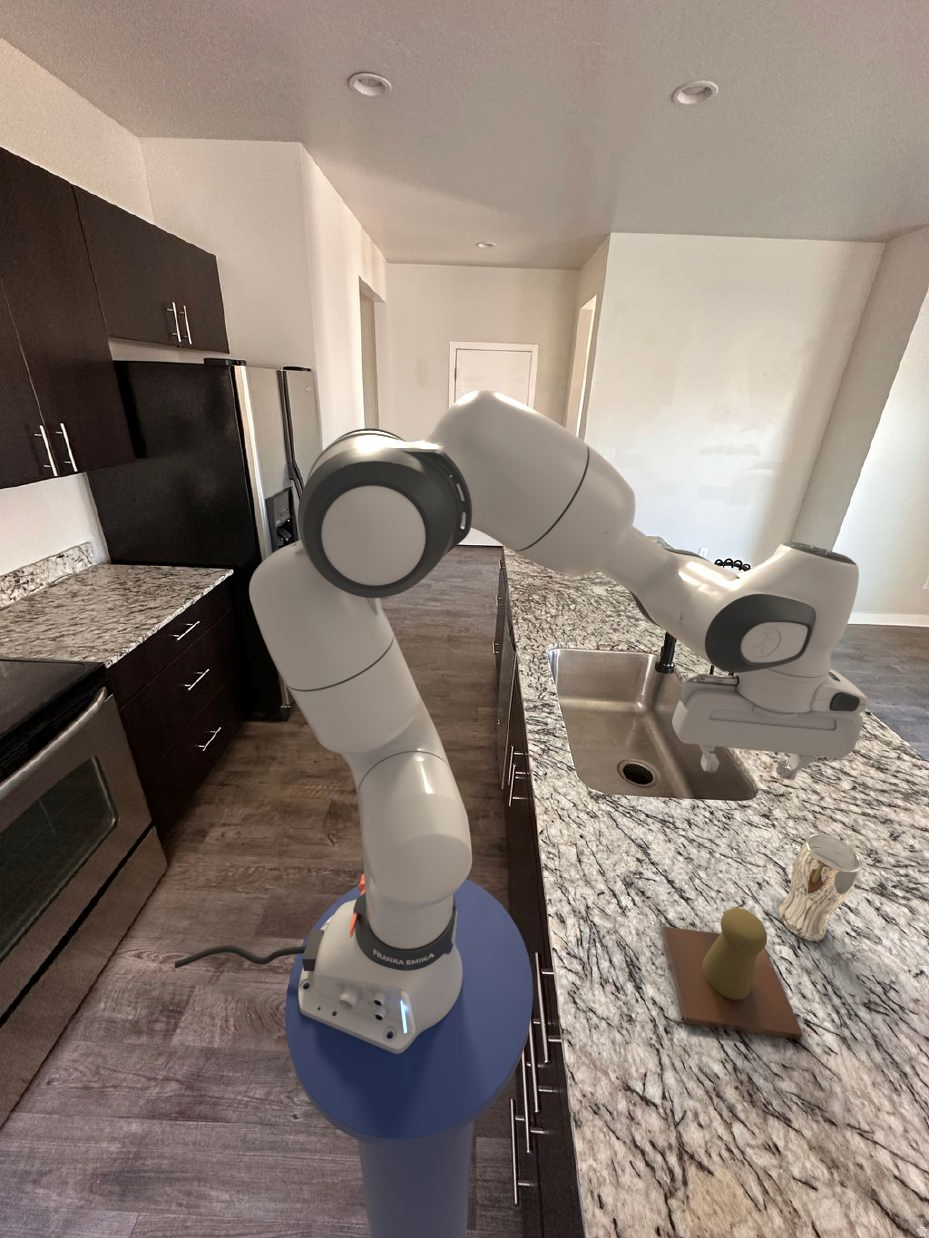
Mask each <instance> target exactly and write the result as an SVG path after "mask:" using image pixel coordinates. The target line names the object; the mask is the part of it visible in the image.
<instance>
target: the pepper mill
mask: <svg viewBox="0 0 929 1238" xmlns="http://www.w3.org/2000/svg"><path fill="white" fill-rule="evenodd" d="M720 930H721V932H720V933H719V934H720V935H719V936H718V938H717V939H716V941H715V942H714V944H713V945H712V947H711V948H710V950H709V951H708V953H707V954H706V956H705V957H704V959H703V962H702V968H703V973H704V975H705V977H706V979H707V981H708V982H709V983H710V985H711V986H712V987H713V988H714V989H715V990H716V991H718V992H719V993H720V994H722V995H724V996H725V997H727V998H731V999H735V1000H739V999H744V998H745V997H747V996H748V995H749V993H750V991H751V986H752V980H753V974H754V968H755V963H756V957H757V954H758V953H760V952H761V951H762V950H763V949H764V948H765V949H766V946H767V944H768V933H767V930H766V927H765V925H764V924H763V922H762V920H761V919H759V917H758V916H756V914H754V913H753V912H751V911H749V910H747V909H745V908H741V907H734V908H730V909H727V910H726V911H725V912H724V914H723V915H722V916H721V920H720Z"/></svg>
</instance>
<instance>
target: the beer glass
mask: <svg viewBox="0 0 929 1238" xmlns="http://www.w3.org/2000/svg"><path fill="white" fill-rule="evenodd" d="M862 865H863V863H862V860H861V858H860V855H859V854H858V853H857V852H856V851H855V850H854V848H852V846H851V845H849V844H848V843H846V842H845V841H843V840H841V839H839V838H837V837H835V836H833V835H830V834H827V833H822V832H821V833H820V832H814V833H810V834H809V835H807V836H806V838H805V840H804V842H803V844H802V846H801V847H800V849H799V850H798V853H797V855H796V857H795V860H794V862H793V866H792V870H791V877H790V885H789V891H788V894H787V896H786V897H785V899H784V900H783V901H782V902H781V904H780V905H779V907H778V917H779V919H780V921H781V922H782V923H783V925H784V926H785V927H786V928H787V929H788V930H789V931H790V932H791V933H792V934H794V935H795V936H797V937H799V938H801V939H803V940H806V941H809V942H819V941H821V940H823V938H824V937H825V935H826V931H827V924H828V921H829V919H830V917H831V916H832V915H833V914H834V913H835V912H836V910H838V909H839V908H840V907H841V906H842V904H844V902H845V901H846V900H847V898H849V896H850V894H851V893H852V891H853V889H854V887H855V884H856V882H857V879H858V877H859V873H860V870H861V868H862Z"/></svg>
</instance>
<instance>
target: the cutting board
mask: <svg viewBox="0 0 929 1238" xmlns="http://www.w3.org/2000/svg"><path fill="white" fill-rule="evenodd" d="M660 932H661V936H662V940H663V944H664V948H665V952H666V957H667V960H668V964H669V967H670V972H671V975H672V979H673V983H674V988H675V991H676V992H675V993H676V996H677V998H678V1003H679V1007H680V1011H681V1014H682V1019H683V1022H684V1024H689V1025H695V1026H702V1027H709V1028H714V1029H715V1028H716V1029H722V1030H729V1031H735V1032H736V1031H737V1032H743V1033H749V1034H756V1035H762V1036H770V1037H776V1038H783V1039H788V1040H789V1039H790V1040H796V1041H801V1039H802V1038H803V1036H804V1034H803V1032H802V1030H801V1029H802V1028H801V1027H800V1025H799V1022H798V1020H797V1018H796V1015H795V1013H794V1011H793V1009H792V1007H791V1004H790V1002H789V999H788V997H787V995H786V993H785V991H784V988H783V985H782V984H781V981H780V979H779V977H778V974H777V972H776V970H775V967H774V966H773V963H772V961H771V958H770V956H769V954H768V952H767V949H766V947H765V948H764V949H763V950H762V951H761V952H760V953H758V954H757V957H756V963H755V968H754V974H753V980H752V986H751V991H750V993H749V995H748V996H747V997H745V998H744V999H739V1000H735V999H731V998H727V997H725V996H724V995H722V994H720V993H719V992H718V991H716V990H715V989H714V988H713V987H712V986H711V985H710V983H709V982H708V981H707V979H706V977H705V975H704V973H703V968H702V962H703V959H704V957H705V956H706V954H707V953H708V951H709V950H710V948H711V947H712V945H713V944H714V942H715V941H716V939H717V938H718V936H719V935H720V933H719V932H710V931H702V930H694V929H687V928H679V927H671V926H664V925H663V926H662V927H661V931H660Z"/></svg>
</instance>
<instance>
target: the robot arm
mask: <svg viewBox="0 0 929 1238" xmlns="http://www.w3.org/2000/svg"><path fill="white" fill-rule="evenodd" d="M301 491H302V492H301V494H300V497H299V500H298V501H299V502H298V508H297V528H298V534H299V537H300V539H299V540H297V541H295V542H293V543H290V544H288V545H285V546H283V547H281V548H279V549H277V550H275V551H274V552H272V553H270V555H268V556H267V557H266V558H264V560H262V562H261V563H260V564H259V565H258V566H257V568H256V569H255V570H254V571H253V574H252V576H251V578H250V581H249V587H248V594H249V600H250V603H251V606H252V611H253V613H254V616H255V619H256V623H257V625H258V627H259V630H260V634H261V636H262V639H263V641H264V644H265V646H266V648H267V651H268V652H269V655H270V657H271V659H272V662H273V664H274V666H275V668H276V670H277V671H278V673H279V675H280V677H281V678H282V680H283V683H284V684H285V686H286V688H287V689H288V691H289V693H290V694H291V696H292V698H293V700H294V701H295V703H296V705H297V706H298V709H299V710H300V712H301V714H302V716H303V717H304V719H305V721H306V722H307V724H308V725H309V727H310V730H311V731H312V733H313V734H314V736H315V738H316V739H317V741H318V743H319V744H320V745H321V746H322V747H323V748H325V749H326V750H327V751H329V752H332V753H336V754H339V755H341V756H342V757H343V759H344V761H346V763H347V765H348V767H349V770H350V771H351V774H352V777H353V778H352V779H353V783H354V787H355V790H356V796H357V803H358V804H357V805H358V815H359V825H360V835H361V837H360V838H361V847H362V848H361V850H362V860H363V861H362V862H363V874H362V875H361V876H360V883H358V885H359V886H358V885H357V886H358V889H359V891H360V892H361V895H360V896H359V897H358V898H357V899H356V900H353V901H349V902H346V903H344V904H343V905H342V906H340V907H339V908H338V910H337V911H336V912H335V914H334V915H333V916H332V917H331V918H329V919H328V921H327V922H326V923H325V924H324V925H323V927H322V928H321V929H320V930H319V929H312V928H311V929H310V930H309V933H308V935H309V937H308V940H307V944H306V946H302V945H299V946H292V947H284V948H281V949H277V950H274V951H273V952H271V953H270V954H269V955H268V956H258V955H256V954H254V953H252V952H249V951H248V950H246V949H244V948H242V947H239V946H236V945H229V944H228V945H227V944H226V945H219V946H214V947H209V948H206V949H204V950H201V951H199V952H197V953H194V954H192V955H190V956H186V957H184V958H182V959H179V960H176V961H175V962H174V969H175V970H176V969H179V968H183V967H185V966H188V965H190V964H192V963H195V962H196V961H197V962H198V961H199V960H203V959H204V958H207V957H210V956H213V955H218V954H224V953H226V954H228V953H229V954H234V955H237V956H240V957H242V958H244V959H245V960H247V961H248V962H250V963H253V964H256V965H261V966H262V965H268V964H270V963H271V962H273V961H274V960H275V959H277V958H281V957H285V956H291V955H293V956H294V955H298V954H303V953H304V954H303V958H302V962H303V969H302V973H301V977H300V982H299V990H298V1001H299V1008H300V1012H301V1013H302V1014H304V1015H305V1016H308V1017H310V1018H312V1019H314V1020H317V1021H319V1022H321V1023H324V1024H326V1025H328V1026H331V1027H333V1028H335V1029H338V1030H340V1031H342V1032H345V1033H347V1034H349V1035H352V1036H354V1037H357V1038H359V1039H361V1040H364V1041H366V1042H368V1043H371V1044H373V1045H375V1046H378V1047H380V1048H382V1049H385V1050H387V1051H389V1052H392V1053H394V1054H400V1053H402V1052H404V1051H405V1050H406V1049H407V1048H408V1047H409V1046H410V1044H411V1043H412V1042H413V1041H414V1039H415V1038H416V1037H417V1036H418V1035H419V1034H420V1033H421V1032H423V1031H424V1030H426V1029H428V1028H430V1027H431V1026H433V1025H435V1024H436V1023H438V1022H439V1021H440V1020H441V1019H442V1018H444V1017H445V1015H446V1014H447V1013H448V1012H449V1011H450V1010H451V1008H452V1007H453V1005H454V1004H455V1002H456V1000H457V998H458V995H459V992H460V989H461V985H462V979H463V967H462V961H461V957H460V954H459V952H458V949H457V947H456V945H455V938H456V925H457V911H456V903H455V898H454V894H453V893H454V892H455V891H456V890H457V889H458V888H459V887H460V886H461V885H462V884H463V882H464V881H465V879H468V876H469V874H470V872H471V869H472V865H473V851H472V850H473V849H472V841H471V832H470V824H469V816H468V814H467V810H466V807H465V804H464V801H463V799H462V796H461V794H460V791H459V788H458V784H457V782H456V779H455V777H454V773H453V770H452V769H451V765H450V763H449V760H448V757H447V754H446V751H445V748H444V746H443V743H442V740H441V738H440V735H439V733H438V731H437V728H436V726H435V724H434V722H433V719H432V718H431V715H430V713H429V711H428V709H427V707H426V705H425V703H424V700H423V698H422V696H421V695H420V692H419V690H418V687H417V686H416V683H415V681H414V679H413V676H412V674H411V671H410V669H409V666H408V664H407V661H406V659H405V657H404V654H403V652H402V650H401V647H400V645H399V643H398V640H397V638H396V636H395V633H394V631H393V628H392V626H391V625H390V621H389V620H388V617H387V615H386V612H385V610H384V608H383V605H382V601H381V599H383V598H389V597H394V596H396V595H400V594H401V593H404V592H407V591H408V590H409V589H411V588H413V587H415V586H416V585H417V584H419V583H420V582H421V581H422V580H424V579H425V578H426V577H427V576H428V575H429V574H430V573H431V572H432V571H433V570H434V568H436V566H437V565H438V564H439V563H440V561H442V559H443V558H444V557H445V556H446V555H447V554H449V553H450V552H451V551H452V550H453V549H455V548H456V546H458V545H460V543H461V542H463V541H464V540H465V539H466V538H467V536H468V535H469V534H470V531H471V529H474V530H476V531H478V532H480V533H483V534H484V535H486V536H489V537H490V538H492V539H493V540H495V541H497V542H498V543H500V544H501V545H503V546H504V547H506V548H507V549H509V550H510V551H512V552H514V553H516V554H517V555H519V556H520V557H522V558H525V559H526V560H529V561H531V562H532V563H534V564H536V565H539V566H541V567H543V568H546V569H547V570H551V571H552V572H556V573H559V574H561V575H565V576H568V577H570V578H571V577H572V578H575V577H581V576H585V575H588V574H591V573H593V572H595V571H598V572H599V573H601V574H602V575H604V576H606V577H607V578H609V579H610V580H612V581H614V582H615V583H616V584H618V585H620V586H622V587H623V588H625V590H627V591H628V592H629V593H630V596H631V597H632V599H633V601H634V603H635V605H636V606H637V608H638V611H639V612H640V614H641V615H642V616H643V617H644V618H645V619H646V620H647V621H649V622H650V623H652V624H653V625H655V626H657V627H658V628H660V629H662V630H664V631H665V632H666V633H668V634H669V635H670V636H672V637H673V638H675V639H676V640H677V641H678V642H680V643H681V644H682V645H683V646H685V647H686V648H687V649H689V650H691V651H692V652H693V653H695V654H696V655H697V656H699V658H701V659H702V660H704V661H705V662H707V663H708V664H710V665H711V666H713V667H715V668H717V669H719V670H720V671H723V672H726V673H731V674H733V675H727V674H710V673H697V674H696V675H694V676H691V677H689V678H687V679H685V680H684V681H683V683H682V684H681V689H680V693H679V701H678V703H677V705H676V707H675V711H674V713H673V716H672V720H671V724H672V727H673V730H674V733H675V734H676V736H677V737H678V738H679V740H680V742H682V743H683V744H688V745H696V746H697V745H698V746H699V748H700V750H701V752H702V756H701V759H700V766H701V768H702V770H703V772H711V773H717V772H718V768H719V766H720V761H719V759H718V758H717V755H716V754H715V753H713V752H714V751H715V749H716V747H719V748H729V749H738V750H740V749H741V750H750V751H761V752H769V753H770V752H771V753H779V754H790V756H789V757H788V758H787V759H786V760H782V759H780V760H778V763H777V766H776V768H775V772H776V774H777V775H778V776H779V778H780V779H781V780H790V781H794V780H795V779H796V777H797V775H798V772H799V771H801V770H802V769H804V768H806V766H808V765H809V764H811V763H812V762H813V761H814V758H815V757H820V758H821V757H822V758H832V759H834V758H835V759H843V758H845V757H847V756H848V755H850V754H851V753H852V752H853V751H854V749H855V747H856V746H857V743H858V740H859V737H860V734H861V732H862V729H863V728H862V727H863V723H864V720H863V715H862V713H864V712H865V711H866V709H867V708H868V706H869V704H870V700H869V698H868V696H866V695H865V693H864V692H862V690H860V689H859V688H858V687H857V686H856V685H855V684H854V683H853V682H851V681H850V680H849V679H847V678H846V677H845V676H843V675H842V674H841V673H839V672H837V670H834V669H831V667H832V652H833V650H834V648H835V647H836V645H837V644H838V643H839V642H840V641H841V639H842V638H843V636H844V633H845V631H846V628H847V626H848V623H849V620H850V618H851V614H852V611H853V608H854V604H855V601H856V597H857V592H858V587H859V579H860V572H859V571H860V570H859V566H858V564H857V563H856V562H855V561H854V560H853V559H852V558H850V557H848V556H847V555H844V554H842V553H838V552H835V551H832V550H829V549H826V548H821V547H818V546H816V545H811V544H807V543H801V542H795V541H793V542H792V541H790V542H782V543H780V544H779V545H778V546H777V548H776V549H775V551H774V553H773V554H772V555H771V556H770V557H769V558H768V559H766V560H765V561H763V562H762V563H760V564H758V565H757V566H755V567H753V568H750V569H748V570H746V571H742V572H739V573H735V572H733V571H731V570H728V569H726V568H724V567H722V566H720V565H717V564H715V563H713V562H711V561H710V560H708V559H706V558H705V557H703V556H701V555H699V554H697V553H695V552H693V551H690V550H686V549H685V550H683V549H676V548H668V547H663V546H661V545H659V543H657V542H655V541H654V540H653V539H651V538H650V537H649V536H648V535H646V534H645V533H644V532H642V531H641V530H639V529H638V528H637V527H635V526H634V521H635V516H636V506H637V505H636V496H635V495H636V494H635V491H634V489H633V488H632V486H631V485H630V484H629V483H628V482H627V480H626V479H625V478H624V477H623V476H622V475H621V474H620V472H619V471H618V470H617V468H615V467H614V466H613V465H612V463H610V462H609V461H608V460H607V459H606V458H605V457H604V456H603V455H602V454H600V452H598V451H597V450H596V449H594V448H593V447H592V446H590V445H589V444H588V443H587V442H585V441H584V440H582V439H581V438H579V436H577V435H575V434H574V433H573V432H572V431H570V430H569V429H567V428H566V427H564V426H562V425H561V424H560V423H558V422H556V421H555V420H553V419H551V418H549V417H548V416H546V415H545V414H542V413H541V412H539V411H537V410H535V409H533V408H532V407H530V406H528V405H526V404H524V403H522V402H520V401H518V400H515V399H514V398H511V397H509V396H507V395H505V394H503V393H500V392H497V391H495V390H488V389H481V390H476V391H472V392H470V393H468V394H465V395H464V396H462V397H461V398H459V399H457V401H455V402H454V403H453V404H451V405H450V407H449V408H448V409H447V410H446V411H445V412H444V413H443V414H442V416H441V417H440V418H439V420H438V421H437V423H436V424H435V427H434V429H433V431H432V432H430V433H429V434H428V435H427V436H426V437H425V438H423V439H421V440H418V441H413V442H408V441H406V440H405V439H404V438H402V437H400V436H399V435H396V434H395V433H393V432H390V431H388V430H384V429H380V428H368V427H367V428H359V429H354V430H352V431H349V432H346V433H344V434H342V435H340V436H339V437H337V438H336V439H335V440H334V441H332V442H331V443H330V444H329V445H327V447H325V448H324V449H323V450H322V451H321V453H320V454H319V455H318V456H317V457H316V458H315V460H314V462H313V463H312V465H311V467H310V470H309V472H308V475H307V478H306V482H305V484H304V486H303V489H302V490H301ZM462 527H463V528H462ZM711 752H712V753H711ZM306 986H309V988H308V989H306V990H305V989H304V988H305V987H306ZM334 1015H336V1016H334ZM390 1034H391V1035H393V1037H392V1039H387V1036H388V1035H390Z"/></svg>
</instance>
